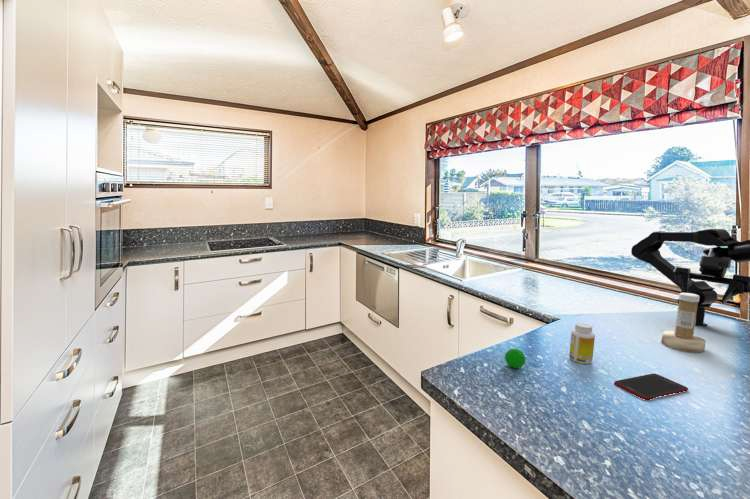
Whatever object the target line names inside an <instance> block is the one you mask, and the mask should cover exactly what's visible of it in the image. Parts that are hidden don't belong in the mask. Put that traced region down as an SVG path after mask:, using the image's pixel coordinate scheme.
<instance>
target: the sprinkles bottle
mask: <svg viewBox="0 0 750 499" xmlns="http://www.w3.org/2000/svg"><path fill="white" fill-rule="evenodd" d="M678 299H679V304H678V306H677V307H678V308H677V312H676V318H677V319H676V320H675V329H674V331H675V333H674V335H676V336H678V337H680V338H685V339H693V338H694V336H693V335H695V334H694V332H695V328H696V325H695V323H696V314H697V306H698V302H699V295H696V294H692V293H682V292H680V293H679V295H678Z"/></svg>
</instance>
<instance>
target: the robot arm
mask: <svg viewBox="0 0 750 499" xmlns="http://www.w3.org/2000/svg"><path fill="white" fill-rule="evenodd" d="M664 242H684V243H685V242H686V243H693V244H694V243H695V244H697V245H702V246H709V248H706V249H703V250H702V253H703V254H704V255H702V256H701V259H700V261H699V265H698V266H700V267H699V269H698V270H699V273H698V272H693V271H692V272H691V270H692V269H691V268H688V267H681V266H674V265H673V264H672V263H670V262H669V261H668V260H666V258H664V257H663V256H662V254H661V252H660V249H661V248H662V246H663V244H664ZM710 246H715V247H710ZM630 252H631V255H632V256H633V257H634V258H636V259H637V260H639V261H642V262H643V263H647V264H650V265H651V266H652V267H653V268H655V270H657V271H658V272H660V273H661V274H662V275H663V276H664V277H666V278H667V279H668V280H669V281H670V282H672V283H673V284H674V285H676V286H677V287H678V288H679V289H680V291H681V293H692V294H696V295H699V302H698V306H697V314H696V323H695V326H702V327H708V323H705V322H704V321H705V315H706V314H705V313H706V309H707V308H710V307H711V306H712V304H714V303H716V302H717V301H718V293H717V292H716V291H715V287H712V286H711V285H709V284H708V283H715V284H722V285H728V286H727V289H726V290H725V292H724V293H723V296H722V298H721V304H725V303H726V302H728V301H729V300H730V299H732V298H733V297H735V296H737V295H739V294H741V295H744V293H746V294H749V293H750V276H749V275H742V274H733V275H732V277H725V276H726V274H727V271H728V269H730V268H731V263H732V261H734V262H735V263H746V262H750V239H746V240H743V241H738V240H737V239H735V238H734V237H733V236H732V235H731V234H730V232H729V231H727V229H725V228H710V229H709V228H707V229H699V230H695V231H664V230H663V231H661V230H660V231H653V232H651V233H650V234H649V235H648V236H646V237H644V238H643V239H642V240H640V241H638V242H637V243H636V244H634V245H633V246H632V247H631V251H630ZM705 255H706V256H705ZM695 280H698V281H695ZM707 282H708V283H707ZM677 303H678V305H679V298H678V299H677ZM676 319H677V317H676Z"/></svg>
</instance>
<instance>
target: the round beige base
mask: <svg viewBox="0 0 750 499" xmlns="http://www.w3.org/2000/svg"><path fill="white" fill-rule="evenodd" d="M674 333H675V330H664V331H662V333H661V341H660V342H661V344H662V345H663V346H666V347H667V348H670V349H673V350H675V351H678V352H679V351H680V352H683V353H690V354H704V353H705V350H706V343H707V340H705V339H704V338H702V337H701V336H698V335H695V334H693V336H694V338H693V339H685V338H680V337H678V336H676V335H674Z"/></svg>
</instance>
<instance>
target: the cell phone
mask: <svg viewBox="0 0 750 499" xmlns="http://www.w3.org/2000/svg"><path fill="white" fill-rule="evenodd" d="M613 384H614V386H615V387H618V388H620V389H621V390H623V391H625V392H626V393H629V394H631V395H633V394H634V395H636V396H638V397H640V398H642V399H645V400H644V401H646V400H647V401H651V400H650V399H653V398H655V399H657V398H656V397H659V396H664V395H669V394H673V393H679V392H683V391H687V390H688V391H689V388H688V387H687V386H685V385H683V384H680V383H678V382H677V381H674V380H672V379H669V378H667V377H665V376H662V375H661V374H657V373H650V374H644V375H638V376H634V377H628V378H624V379H623V378H622V379H619V380H615V381H614V382H613ZM688 391H687V392H688ZM683 393H684V392H683ZM679 394H680V393H679ZM634 395H633V396H634ZM636 396H635V397H636ZM638 397H637V398H638ZM640 398H639V399H640ZM642 399H641V400H642ZM653 400H654V399H653Z"/></svg>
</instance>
